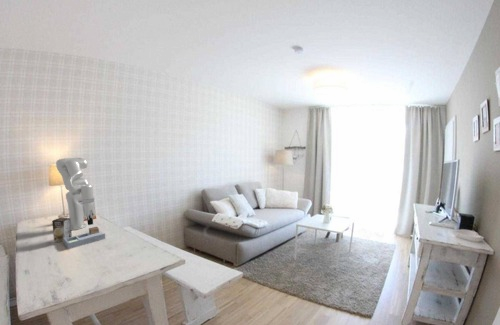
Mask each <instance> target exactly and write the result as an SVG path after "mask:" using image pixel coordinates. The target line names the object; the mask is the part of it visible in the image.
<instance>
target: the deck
mask: <svg viewBox="0 0 500 325" xmlns="http://www.w3.org/2000/svg"><path fill="white" fill-rule="evenodd" d="M104 239H105V240H106V233H105V232H102V231H101V230H99V233H95V234H90V233H89V232H86V233H82V234H78V235H75V236H74V235H72V237H69V238H65V237H64V238H63V242H62V243H63V244H64V246H65V247H66V248H67V249H68V250H70V249H74V248H77V247H80V246H84V245H89V244H91V243H95V242H98V241H102V240H104Z"/></svg>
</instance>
